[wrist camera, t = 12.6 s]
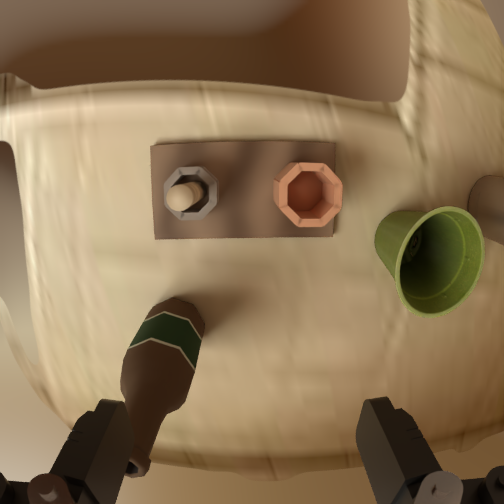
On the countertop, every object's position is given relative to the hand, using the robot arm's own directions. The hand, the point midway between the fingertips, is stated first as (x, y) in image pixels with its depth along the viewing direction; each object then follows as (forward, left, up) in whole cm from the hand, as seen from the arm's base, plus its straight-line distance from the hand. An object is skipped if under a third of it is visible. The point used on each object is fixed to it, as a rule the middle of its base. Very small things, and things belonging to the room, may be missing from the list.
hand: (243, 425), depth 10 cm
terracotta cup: (-6, -5, -29) cm, 30 cm away
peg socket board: (0, -5, -30) cm, 30 cm away
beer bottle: (+9, +12, -30) cm, 34 cm away
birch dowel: (+5, -5, -29) cm, 30 cm away
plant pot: (-20, +1, -30) cm, 36 cm away
